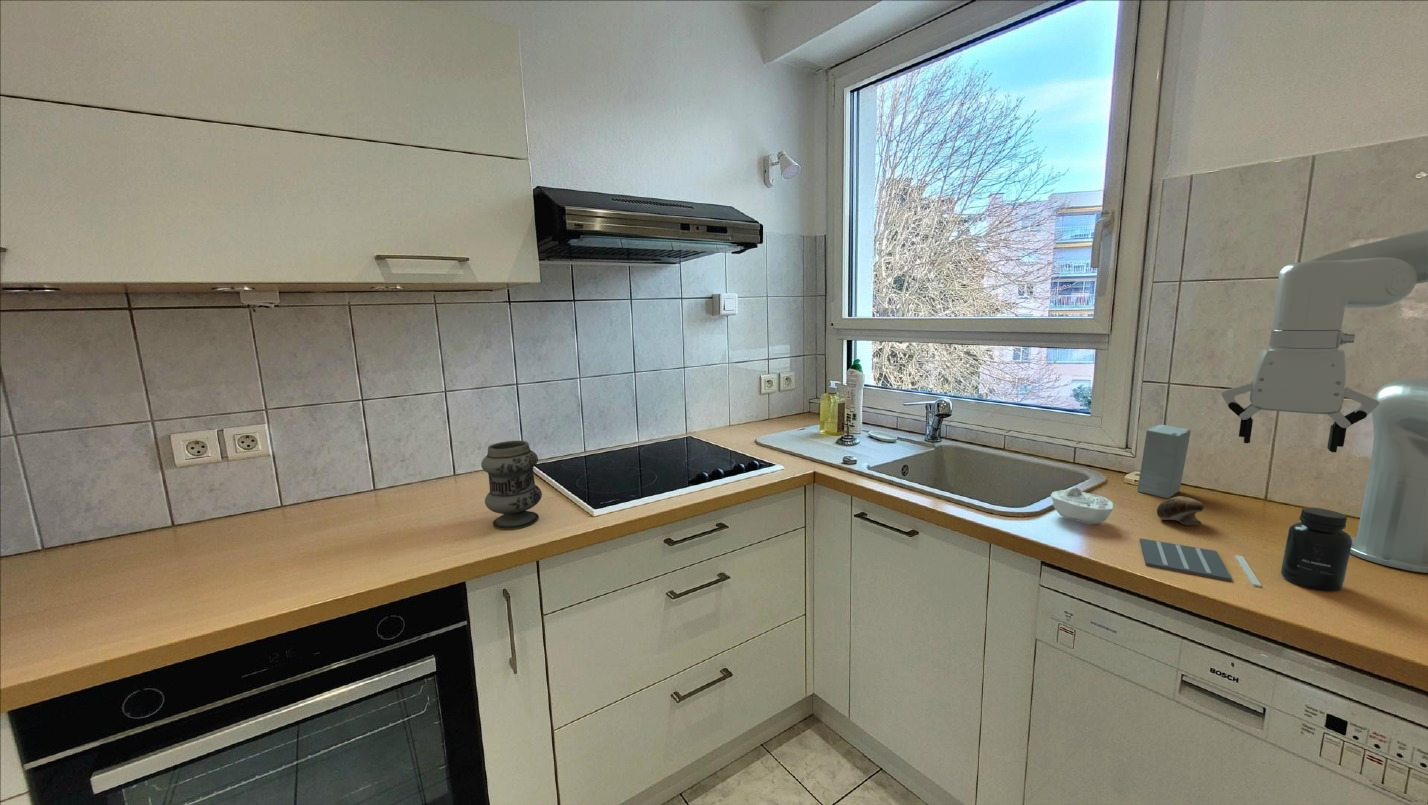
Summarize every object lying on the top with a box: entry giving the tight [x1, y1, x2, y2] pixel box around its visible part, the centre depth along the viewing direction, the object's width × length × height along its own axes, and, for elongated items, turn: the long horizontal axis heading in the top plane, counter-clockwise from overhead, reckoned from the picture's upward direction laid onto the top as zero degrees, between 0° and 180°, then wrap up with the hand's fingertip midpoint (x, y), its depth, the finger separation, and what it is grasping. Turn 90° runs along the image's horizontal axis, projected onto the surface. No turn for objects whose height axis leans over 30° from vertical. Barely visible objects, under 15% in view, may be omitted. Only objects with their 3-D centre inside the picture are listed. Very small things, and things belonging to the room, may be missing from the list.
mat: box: [1139, 537, 1233, 582], centre depth 96 cm, size 11×12×1 cm
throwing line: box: [1234, 554, 1262, 588], centre depth 91 cm, size 1×12×1 cm, turn 146°
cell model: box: [1050, 486, 1115, 526], centre depth 114 cm, size 10×12×7 cm
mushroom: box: [1156, 495, 1205, 526], centre depth 111 cm, size 8×8×6 cm
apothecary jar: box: [480, 440, 543, 531], centre depth 120 cm, size 12×12×18 cm
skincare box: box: [1137, 424, 1192, 499], centre depth 129 cm, size 8×7×16 cm
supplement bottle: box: [1280, 506, 1352, 593], centre depth 86 cm, size 7×7×12 cm
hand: (1287, 445), depth 88 cm, fingers open, 9 cm apart
